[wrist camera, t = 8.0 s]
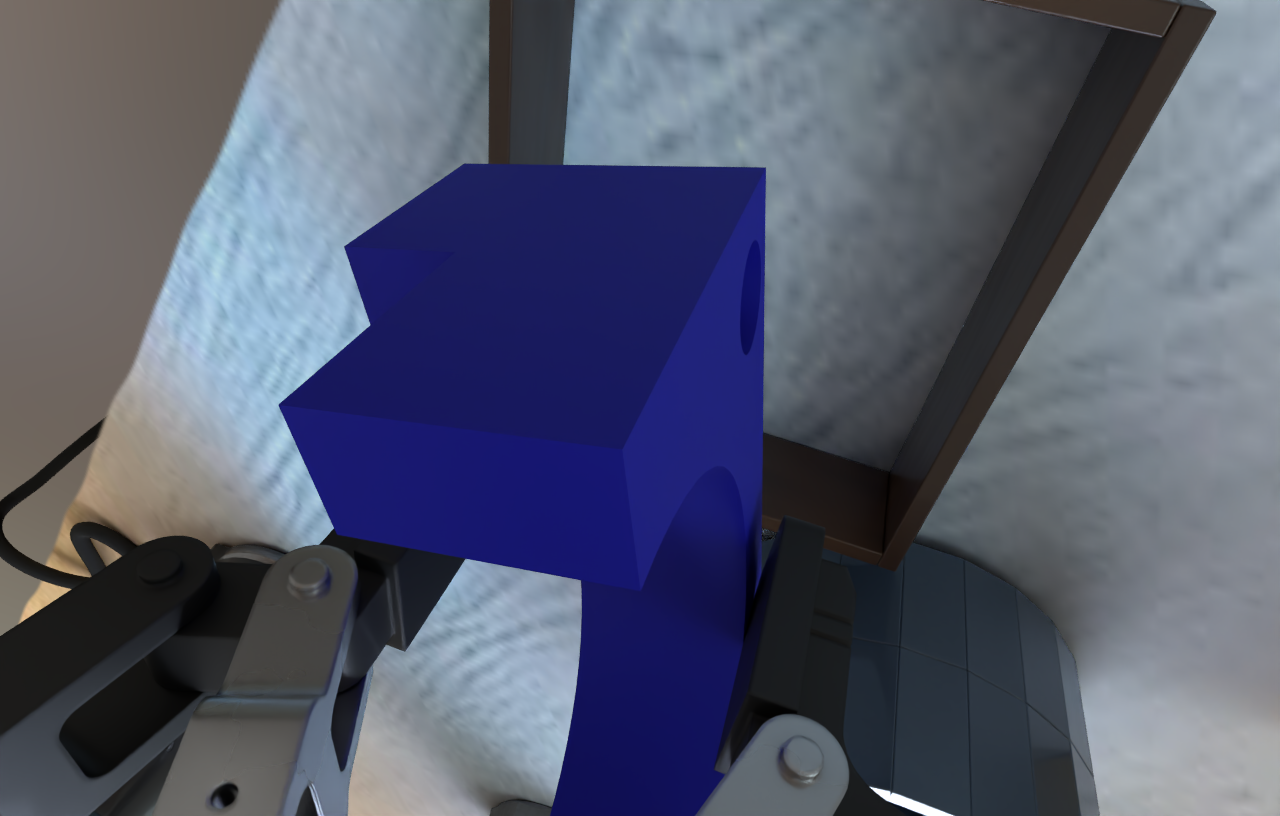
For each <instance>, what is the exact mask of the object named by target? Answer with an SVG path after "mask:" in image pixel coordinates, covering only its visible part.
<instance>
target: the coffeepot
mask: <svg viewBox="0 0 1280 816" xmlns="http://www.w3.org/2000/svg"><path fill="white" fill-rule="evenodd" d="M551 810H552V808H549V807H546V806H544V805H540V804H537V803H533V802H528V801H519V800H512V801H506V802H503V803H501V804H500V805H499V806H498V807H495V808H492V809H491V813H490V816H550V813H551Z"/></svg>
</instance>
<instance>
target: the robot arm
mask: <svg viewBox="0 0 1280 816" xmlns="http://www.w3.org/2000/svg"><path fill="white" fill-rule="evenodd" d="M106 417H107V416H106ZM106 417H105V418H103V419H102V420H101V421H100V422H98V423H97V424H96V425H95V426H93V427H92V428H91V429H89V430H88V431H87V432H86V433H84V434H83V435H82V436H81V437H79V438H78V439H77V440H76V441H74V442H73V443H72V444H71V445H70V446H68V447H67V448H66V449H65V450H64V451H62V452H61V453H60V454H59V455H58V456H57V457H55V458H54V459H53V460H52V461H51V462H50V463H48V464H47V465H46V466H45V467H44V468H43V469H41V470H40V471H39V472H38V473H37V474H36V475H34V476H33V477H32V478H30V479H29V480H28V481H26V482H25V483H24V484H22V485H21V486H19V487H18V488H16V489H15V490H14V491H12V492H11V493H9V494H8V495H7V496H5V497H4V498H3V499H2V500H1V501H0V557H1V558H2V559H3V560H5V561H6V562H7V563H9V564H10V565H11V566H13V567H15V568H16V569H18V570H20V571H22V572H24V573H26V574H28V575H30V576H32V577H34V578H37V579H40V580H42V581H45V582H48V583H51V584H54V585H57V586H61V587H65V588H70V589H72V590H70V591H68V592H67V593H65V594H64V595H62V596H61V597H59V598H58V599H56V600H55V601H53V602H52V603H50V604H49V605H47V606H46V607H44V608H43V609H41V610H39V611H38V612H36V613H35V614H33V615H32V616H30V617H29V618H27V619H26V620H24V621H23V622H21V623H20V624H18V625H17V626H15V627H14V628H12V629H10V630H9V631H7V632H6V633H4V634H3V635H1V636H0V816H348V794H349V784H350V777H351V772H352V768H353V763H354V758H355V754H356V749H357V745H358V740H359V735H360V731H361V726H362V722H363V717H364V712H365V708H366V703H367V699H368V694H369V690H370V685H371V680H372V676H373V663H374V662H375V660H376V659H377V657H378V656H379V654H380V653H381V651H382V650H383V648H384V647H385V645H389V646H391V647H394V648H397V649H399V650H402V651H406V650H407V648H408V647H409V645H410V644H411V642H412V641H413V639H414V638H415V636H416V634H417V633H418V631H419V630H420V628H421V627H422V625H423V624H424V622H425V621H426V619H427V617H428V616H429V614H430V613H431V611H432V610H433V608H434V607H435V605H436V604H437V602H438V601H439V599H440V597H441V596H442V594H443V593H444V591H445V590H446V588H447V587H448V585H449V584H450V582H451V580H452V579H453V577H454V576H455V574H456V573H457V571H458V570H459V568H460V567H461V565H462V563H463V562H464V560H465V558H460V557H455V556H449V555H444V554H439V553H433V552H428V551H423V550H417V549H412V548H407V547H401V546H396V545H390V544H385V543H380V542H374V541H369V540H364V539H358V538H353V537H348V536H342V535H337V533H336V531H335V529H333V530H332V531H331V532H330V534H329V535H328V536H327V537H326V538H325V539H324V540H323V541H322V542H321V543H320V544H319V545H312V546H305V547H302V548H298V549H296V550H293V551H291V552H289V553H287V554H282V553H280V552H277V551H275V550H272V549H268V548H265V547H261V546H255V545H238V546H234V547H232V548H229V547H225V546H223V545H220V544H215V545H214V546H213V547H212V548H211V549H209V547H208V546H207V545H206V544H205V543H203V542H202V541H200V540H198V539H195V538H192V537H187V536H168V537H162V538H158V539H155V540H151V541H148V542H146V543H144V544H142V545H140V546H138V547H137V546H135V545H134V544H133V543H132V542H131V541H129V540H128V539H127V538H125V537H124V536H122V535H121V534H119V533H117V532H116V531H114V530H112V529H110V528H108V527H106V526H103V525H101V524H98V523H94V522H81V523H77V524H76V525H74V526H73V528H72V529H71V532H70V538H71V541H72V543H73V545H74V547H75V549H76V551H77V552H78V554H79V556H80V557H81V559H82V560H83V562H84V563H85V565H86V567H87V568H88V570H89V572H90V574H91V577H83V576H77V575H73V574H69V573H65V572H62V571H58V570H55V569H53V568H50V567H47V566H45V565H42V564H40V563H38V562H36V561H34V560H32V559H30V558H29V557H27V556H25V555H24V554H22V553H21V552H19V551H18V550H17V549H15V548H14V547H13V546H12V545H11V544H10V543H9V542H8V540H7V539H6V538H5V536H4V533H3V530H2V524H3V520H4V518H5V516H6V515H7V513H8V512H9V511H10V510H12V509H13V508H14V507H15V506H16V505H17V504H19V503H20V502H21V501H23V500H24V499H26V498H27V497H28V496H30V495H31V494H32V493H34V492H35V491H37V490H38V489H39V488H40V487H42V486H43V485H44V484H45V483H47V482H48V481H49V480H50V479H51V478H52V477H53V476H55V475H56V474H57V473H58V472H59V471H60V470H61V469H63V468H64V467H65V466H66V465H67V464H68V463H69V462H70V461H72V460H73V459H74V458H75V457H76V456H77V455H79V454H80V453H81V452H82V451H83V450H84V449H86V448H87V447H88V446H89V445H91V444H92V443H93V442H94V441H95V440H97V439H98V438H99V436H100V434H101V431H102V428H103V425H104V422H105V419H106ZM90 538H93V539H95V540H98V541H100V542H102V543H103V544H105V545H107V546H109V547H110V548H112V549H113V550H115V551H116V552H118V553H119V554H120V555H121V556H122V557H120V558H119V559H117V560H116V561H114V562H113V563H111V564H110V565H108V566H107V567H106V566H105V564H104V562H103V560H102V559H101V557H100V555H99V554H98V552H97V550H96V549H95V547H94V545H93V544H92V542H91V540H90ZM824 539H825V527H822V526H818V525H815V524H812V523H809V522H806V521H803V520H800V519H797V518H794V517H791V516H787V515H784V517H783V519H782V521H781V524H780V526H779V529H778V531H777V534H776V536H775V539H774V542H773V544H772V547H771V549H770V552H769V555H768V557H767V560H766V562H765V565H764V568H763V570H762V573H761V576H760V579H759V582H758V586H757V589H756V593H755V596H754V600H753V604H752V609H751V613H750V617H749V621H748V626H747V630H746V634H745V638H744V643H743V647H742V651H741V655H740V660H739V664H738V668H737V672H736V677H735V681H734V685H733V689H732V694H731V698H730V702H729V706H728V711H727V715H726V719H725V723H724V728H723V732H722V736H721V740H720V745H719V749H718V753H717V757H716V762H715V766H714V770H715V771H718V772H720V773H723V774H725V776H724V777H723V778H722V780H721V781H720V782H719V784H718V785H717V787H716V788H715V789H714V791H713V792H712V793H711V795H710V796H709V797H708V799H707V800H706V802H705V803H704V804H703V806H702V807H701V808H700V810H699V811H698V813H697V814H696V815H695V816H907V815H905V814H904V813H903V812H901V811H900V810H899V809H897V808H896V807H895V806H893V805H892V804H891V803H889V802H888V801H886V800H885V799H884V798H882V797H881V796H880V795H879V794H877V793H876V792H875V791H874V790H873V789H871V788H870V787H869V786H868V785H867V784H866V782H865V781H864V780H863V779H862V778H861V776H860V775H859V774H858V772H857V771H856V769H855V768H854V766H853V764H852V763H851V760H850V758H849V756H848V754H847V750H846V747H845V743H844V736H843V729H844V717H845V707H846V697H847V687H848V677H849V667H850V657H851V643H852V637H853V627H854V626H853V622H854V617H855V607H856V597H857V594H856V591H855V588H854V585H853V582H852V579H851V577H850V574H849V571H848V568H847V567H846V566H843V565H840V564H837V563H834V562H831V561H828V560H825V559H822V552H823V545H824Z"/></svg>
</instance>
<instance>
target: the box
mask: <svg viewBox="0 0 1280 816" xmlns="http://www.w3.org/2000/svg"><path fill="white" fill-rule="evenodd" d="M982 1H986V2H991V3H996V4H1000V5H1005V6H1010V7H1015V8H1019V9H1024V10H1029V11H1033V12H1038V13H1043V14H1048V15H1052V16H1057V17H1062V18H1066V19H1071V20H1076V21H1081V22H1085V23H1090V24H1095V25H1099V26H1104V27H1109V28H1112V29H1111V31H1110V33H1109V35H1108V37H1107V39H1106V41H1105V43H1104V45H1103V47H1102V49H1101V51H1100V53H1099V55H1098V57H1097V59H1096V61H1095V63H1094V65H1093V67H1092V69H1091V71H1090V73H1089V75H1088V77H1087V79H1086V81H1085V83H1084V85H1083V87H1082V89H1081V91H1080V93H1079V95H1078V97H1077V99H1076V101H1075V103H1074V105H1073V107H1072V109H1071V111H1070V113H1069V115H1068V117H1067V119H1066V121H1065V123H1064V125H1063V127H1062V129H1061V131H1060V133H1059V135H1058V137H1057V139H1056V141H1055V143H1054V145H1053V147H1052V149H1051V151H1050V153H1049V155H1048V157H1047V159H1046V161H1045V163H1044V165H1043V167H1042V169H1041V171H1040V173H1039V175H1038V177H1037V179H1036V181H1035V183H1034V185H1033V187H1032V189H1031V191H1030V193H1029V195H1028V197H1027V199H1026V201H1025V203H1024V205H1023V207H1022V209H1021V211H1020V213H1019V215H1018V217H1017V219H1016V221H1015V223H1014V225H1013V227H1012V229H1011V231H1010V233H1009V235H1008V237H1007V239H1006V241H1005V243H1004V245H1003V247H1002V249H1001V251H1000V253H999V255H998V257H997V259H996V261H995V263H994V265H993V267H992V269H991V271H990V273H989V275H988V277H987V279H986V281H985V283H984V285H983V287H982V289H981V291H980V293H979V295H978V297H977V299H976V301H975V303H974V305H973V307H972V309H971V311H970V313H969V315H968V318H967V320H966V322H965V324H964V326H963V328H962V330H961V332H960V334H959V336H958V338H957V340H956V342H955V344H954V346H953V348H952V350H951V352H950V354H949V356H948V358H947V360H946V362H945V364H944V366H943V368H942V370H941V372H940V374H939V376H938V378H937V380H936V382H935V384H934V386H933V388H932V390H931V392H930V394H929V396H928V398H927V400H926V402H925V404H924V406H923V408H922V410H921V412H920V414H919V416H918V418H917V420H916V422H915V424H914V426H913V428H912V430H911V432H910V434H909V436H908V438H907V440H906V442H905V444H904V446H903V448H902V450H901V452H900V454H899V456H898V458H897V460H896V462H895V464H894V466H893V468H892V470H891V472H890V474H889V473H888V472H886V471H883V470H879V469H876V468H873V467H870V466H867V465H863V464H860V463H857V462H854V461H851V460H847V459H844V458H841V457H838V456H835V455H831V454H828V453H825V452H822V451H819V450H815V449H812V448H809V447H806V446H803V445H799V444H796V443H793V442H790V441H787V440H783V439H780V438H777V437H774V436H771V435H767V434H764V433H763V465H762V528H764V529H767V530H770V531H773V532H776V533H777V531H778V529H779V526H780V524H781V521H782V519H783V517H784V515H787V516H791V517H794V518H797V519H800V520H803V521H806V522H809V523H812V524H815V525H818V526H822V527H825V539H824V545H823V548H824V549H827V550H830V551H833V552H836V553H839V554H842V555H845V556H849V557H852V558H855V559H858V560H861V561H864V562H867V563H870V564H873V565H878V566H879V567H881V568H884V569H887V570H890V571H893V572H895V571H896V570H897V568H898V566H899V565H900V563H901V561H902V559H903V558H904V556H905V554H906V553H907V551H908V549H909V547H910V546H911V544H912V542H913V540H914V539H915V537H916V535H917V533H918V532H919V530H920V528H921V526H922V525H923V523H924V521H925V519H926V518H927V516H928V514H929V513H930V511H931V509H932V507H933V506H934V504H935V502H936V500H937V499H938V497H939V495H940V493H941V492H942V490H943V488H944V486H945V485H946V483H947V481H948V479H949V478H950V476H951V474H952V473H953V471H954V469H955V467H956V466H957V464H958V462H959V460H960V459H961V457H962V455H963V453H964V452H965V450H966V448H967V446H968V445H969V443H970V441H971V439H972V438H973V436H974V434H975V433H976V431H977V429H978V427H979V426H980V424H981V422H982V420H983V419H984V417H985V415H986V413H987V412H988V410H989V408H990V406H991V405H992V403H993V401H994V399H995V398H996V396H997V394H998V393H999V391H1000V389H1001V387H1002V386H1003V384H1004V382H1005V380H1006V379H1007V377H1008V375H1009V373H1010V372H1011V370H1012V368H1013V366H1014V365H1015V363H1016V361H1017V359H1018V358H1019V356H1020V354H1021V353H1022V351H1023V349H1024V347H1025V346H1026V344H1027V342H1028V340H1029V339H1030V337H1031V335H1032V333H1033V332H1034V330H1035V328H1036V326H1037V325H1038V323H1039V321H1040V319H1041V318H1042V316H1043V314H1044V313H1045V311H1046V309H1047V307H1048V306H1049V304H1050V302H1051V300H1052V299H1053V297H1054V295H1055V293H1056V292H1057V290H1058V288H1059V286H1060V285H1061V283H1062V281H1063V280H1064V278H1065V276H1066V274H1067V273H1068V271H1069V269H1070V267H1071V266H1072V264H1073V262H1074V260H1075V259H1076V257H1077V255H1078V253H1079V252H1080V250H1081V248H1082V246H1083V245H1084V243H1085V241H1086V240H1087V238H1088V236H1089V234H1090V233H1091V231H1092V229H1093V227H1094V226H1095V224H1096V222H1097V220H1098V219H1099V217H1100V215H1101V213H1102V212H1103V210H1104V208H1105V206H1106V205H1107V203H1108V201H1109V200H1110V198H1111V196H1112V194H1113V193H1114V191H1115V189H1116V187H1117V186H1118V184H1119V182H1120V180H1121V179H1122V177H1123V175H1124V173H1125V172H1126V170H1127V168H1128V166H1129V165H1130V163H1131V161H1132V160H1133V158H1134V156H1135V154H1136V153H1137V151H1138V149H1139V147H1140V146H1141V144H1142V142H1143V140H1144V139H1145V137H1146V135H1147V133H1148V132H1149V130H1150V128H1151V126H1152V125H1153V123H1154V121H1155V120H1156V118H1157V116H1158V114H1159V113H1160V111H1161V109H1162V107H1163V106H1164V104H1165V102H1166V100H1167V99H1168V97H1169V95H1170V93H1171V92H1172V90H1173V88H1174V86H1175V85H1176V83H1177V81H1178V80H1179V78H1180V76H1181V74H1182V73H1183V71H1184V69H1185V67H1186V66H1187V64H1188V62H1189V60H1190V59H1191V57H1192V55H1193V53H1194V52H1195V50H1196V48H1197V46H1198V45H1199V43H1200V41H1201V40H1202V38H1203V36H1204V34H1205V33H1206V31H1207V29H1208V27H1209V26H1210V24H1211V22H1212V20H1213V19H1214V17H1215V15H1216V11H1215V10H1214V9H1213V8H1211V7H1210V6H1208V5H1207V4H1205V3H1204V2H1202V1H1201V0H982ZM574 4H575V0H490V25H489V164H530V165H563V157H564V143H565V129H566V115H567V101H568V88H569V74H570V60H571V46H572V32H573V18H574Z"/></svg>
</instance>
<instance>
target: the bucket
mask: <svg viewBox="0 0 1280 816" xmlns="http://www.w3.org/2000/svg"><path fill="white" fill-rule="evenodd" d="M774 539H775V538H773V539H770V540H766V541H762V554H761V573H762V570H763V568H764V565H765V562H766V560H767V557H768V555H769V552H770V549H771V547H772V544H773V542H774ZM822 559H825V560H828V561H831V562H834V563H837V564H840V565H843V566H846V567H847V568H848V571H849V574H850V577H851V579H852V582H853V585H854V588H855V591H856V594H857V597H856V607H855V617H854V622H853V626H854V627H853V637H852V643H851V657H850V667H849V677H848V687H847V697H846V707H845V717H844V729H843V736H844V743H845V747H846V750H847V754H848V756H849V758H850V760H851V763H852V764H853V766H854V768H855V769H856V771H857V772H858V774H859V775H860V776H861V778H862V779H863V780H864V781H865V782H866V784H867V785H868V786H869V787H870V788H871V789H873V790H874V791H875V792H876V793H877V794H879V795H880V796H881V797H882V798H884V799H885V800H886V801H888V802H889V803H891V804H892V805H893V806H895V807H896V808H897V809H899V810H900V811H901V812H903V813H904V814H905V815H907V816H1100V812H1099V806H1098V799H1097V793H1096V787H1095V781H1094V775H1093V768H1092V762H1091V756H1090V750H1089V743H1088V737H1087V731H1086V724H1085V718H1084V712H1083V706H1082V699H1081V693H1080V687H1079V681H1078V674H1077V668H1076V662H1075V659H1074V657H1073V655H1072V653H1071V652H1070V650H1069V648H1068V647H1067V645H1066V643H1065V641H1064V640H1063V638H1062V636H1061V635H1060V633H1059V631H1058V629H1057V628H1056V626H1055V624H1054V623H1053V621H1052V620H1051V619H1050V618H1049V617H1048V616H1046V615H1045V614H1044V613H1043V612H1042V611H1041V610H1040V609H1039V608H1038V607H1037V606H1035V605H1034V604H1033V603H1032V602H1031V601H1030V600H1029V599H1028V598H1027V597H1025V596H1024V595H1023V594H1022V593H1021V592H1020V591H1019V590H1018V589H1017V588H1015V587H1014V586H1012V585H1010V584H1008V583H1007V582H1005V581H1003V580H1001V579H999V578H998V577H996V576H994V575H992V574H990V573H988V572H987V571H985V570H983V569H981V568H979V567H978V566H976V565H974V564H972V563H970V562H969V561H967V560H963V559H962V558H959V557H956V556H953V555H950V554H947V553H944V552H941V551H938V550H935V549H932V548H929V547H926V546H922V545H919V544H916V543H913V542H912V544H911V546H910V547H909V549H908V551H907V553H906V554H905V556H904V558H903V559H902V561H901V563H900V565H899V566H898V568H897V570H896V571H895V572H893V571H890V570H887V569H884V568H881V567H879V566H878V565H873V564H870V563H867V562H864V561H861V560H858V559H855V558H852V557H849V556H845V555H842V554H839V553H836V552H833V551H830V550H827V549H824V548H823V552H822Z"/></svg>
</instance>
